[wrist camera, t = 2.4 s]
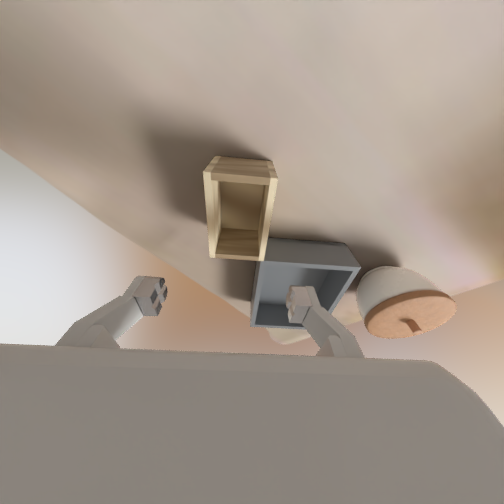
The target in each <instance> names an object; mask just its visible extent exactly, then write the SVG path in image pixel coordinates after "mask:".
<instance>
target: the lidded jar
mask: <svg viewBox="0 0 504 504" xmlns="http://www.w3.org/2000/svg"><path fill="white" fill-rule="evenodd" d="M356 301H357V306H358V309H359V312H360V314H361V317H362V319H363V321H364V324H365V326H366V328H367V330H368V332H369V333H371V334H372V335H374V336H377V337H381V338H392V339H393V338H405V337H410V336H414V335H418V334H422V333H425V332H428V331H430V330H432V329H434V328H437V327H439V326H441V325H442V324H444V323H445V322H447V321H448V320H449V319H450V318H451V317H452V316H453V315H454V314H455V312H456V308H457V305H456V303H455V301H454V300H453V299H451V297H449V296H448V295H447V294H445V293H444V292H443V291H442V290H441V289H440V288H439V287H438V286H436V285H435V284H434V283H433V282H432V281H430V280H429V279H428V278H426V277H425V276H423V275H421V274H419V273H417V272H415V271H413V270H410V269H406V268H401V267H393V266H380V267H377V268H374V269H372V270H370V271H368V272H367V273H366V274H364V275H363V277H362V278H361V280H360V283H359V285H358V287H357V291H356Z"/></svg>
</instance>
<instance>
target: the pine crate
mask: <svg viewBox="0 0 504 504" xmlns="http://www.w3.org/2000/svg"><path fill="white" fill-rule="evenodd" d="M203 178H204V191H205V203H206V216H207V228H208V240H209V253H210V258H224V259H238V260H253V261H264V257H265V251H266V245H267V240H268V234H269V228H270V222H271V217H272V211H273V205H274V199H275V193H276V188H277V182H278V177H277V174H276V171H275V168H274V165H273V162H272V161H266V160H256V159H246V158H235V157H225V156H215V157H214V158H213V159H212V161H211V162H210V163H209V165H208V166H207V167H206V168H205V170H204V171H203Z"/></svg>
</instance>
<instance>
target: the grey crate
mask: <svg viewBox="0 0 504 504" xmlns="http://www.w3.org/2000/svg"><path fill="white" fill-rule="evenodd" d="M360 269H361V266H360V265H359V263H358V262H357V260H356V259H355V257H354V256H353V254H352V253H351V251H350V250H349V248H348V247H347V245H346V244H345V243H334V242H321V241H307V240H294V239H281V238H268V240H267V245H266V251H265V257H264V261H256V268H255V275H254V282H253V289H252V297H251V319H250V326H251V327H268V328H288V329H305V327H304V326H303V325H302V324H301V323H289V318H288V311H289V309H288V308H287V307H286V296H287V293H289V286H290V285H295V286H313V287H314V289H315V292H316V294H317V297H318V300H319V303H320V305H321V307H324V308H325V309H326V310H327V311H328V312H329V313H330V314H331V313H332V312H333V310H334V308H335V307H336V305H337V304H338V302H339V301H340V299H341V298H342V296H343V295H344V293H345V292H346V290H347V289H348V287H349V286H350V284H351V282H352V281H353V279H354V278H355V276H356V275H357V273H358V272H359V270H360Z"/></svg>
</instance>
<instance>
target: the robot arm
mask: <svg viewBox="0 0 504 504" xmlns="http://www.w3.org/2000/svg"><path fill="white" fill-rule="evenodd" d="M164 283H165V280H164V278H161V277H149V276H137V277H136V278H135V279H134V280H133V282H132V283H131V285H130V286H129V287H128V289H127V290H126V292H125V293H124V295H123V296H119V297H118V298H116V299H114V300H112V301H111V302H109V303H107V304H106V305H104V306H102V307H100V308H99V309H97V310H95V311H93V312H92V313H90V314H88V315H87V316H85V317H83V318H82V319H80V320H78V321H76V322H75V323H74V324H73V325H72V326H71V327H70V328H69V330H68V331H67V332H66V333H65V334H64V335H63V337H62V338H61V339H60V340H59V341H58V342H57V344H56V345H55V346H45V345H19V344H0V504H504V427H503V425H502V424H501V423H500V421H499V420H498V419H497V418H496V416H495V415H494V414H493V412H492V411H491V410H490V408H489V407H488V406H487V405H486V403H485V402H484V401H483V400H482V399H481V398H480V397H479V396H478V394H477V393H476V392H474V391H473V390H472V389H471V388H470V387H468V386H467V385H466V384H465V383H463V382H462V381H461V380H459V379H458V378H457V377H455V376H454V375H452V374H451V373H450V372H448V371H447V370H446V369H444V368H443V367H441V366H440V365H438V364H437V363H434V362H432V361H425V360H400V359H375V358H364V355H363V353H362V351H361V349H360V347H359V345H358V342H357V340H356V338H355V336H354V335H353V334H352V333H351V332H350V331H349V330H348V329H346V328H345V327H344V326H343V325H342V324H341V323H340V322H339V321H338V320H337V319H336V318H334V317H333V316H332V315H331V314H330V313H329V312H328V311H327V310H326V309H325V308H324V307H321V305H320V303H319V300H318V297H317V294H316V292H315V289H314V287H313V286H295V285H290V286H289V293H287V296H286V307H287V308H288V309H289V311H288V318H289V323H301V324H302V325H303V326H304V327H305V329H306V330H307V331H308V333H309V334H310V335H311V336H312V338H313V339H314V340H315V342H316V343H317V344H318V346H319V347H320V350H319V351H318V353H317V354H316V356H298V355H273V354H247V353H223V352H197V351H170V350H146V349H144V350H143V349H121V348H120V346H119V345H118V344H117V343H116V340H117V339H118V338H119V337H120V336H121V335H123V334H124V333H125V332H126V331H127V330H128V329H129V328H131V326H133V325H134V324H135V323H136V322H138V321H139V320H140V319H141V318H142V317H143V316H158V314H159V312H160V310H161V308H162V306H161V303H162V302H164V301H165V299H166V296H167V287H166V286H165V285H164Z"/></svg>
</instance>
